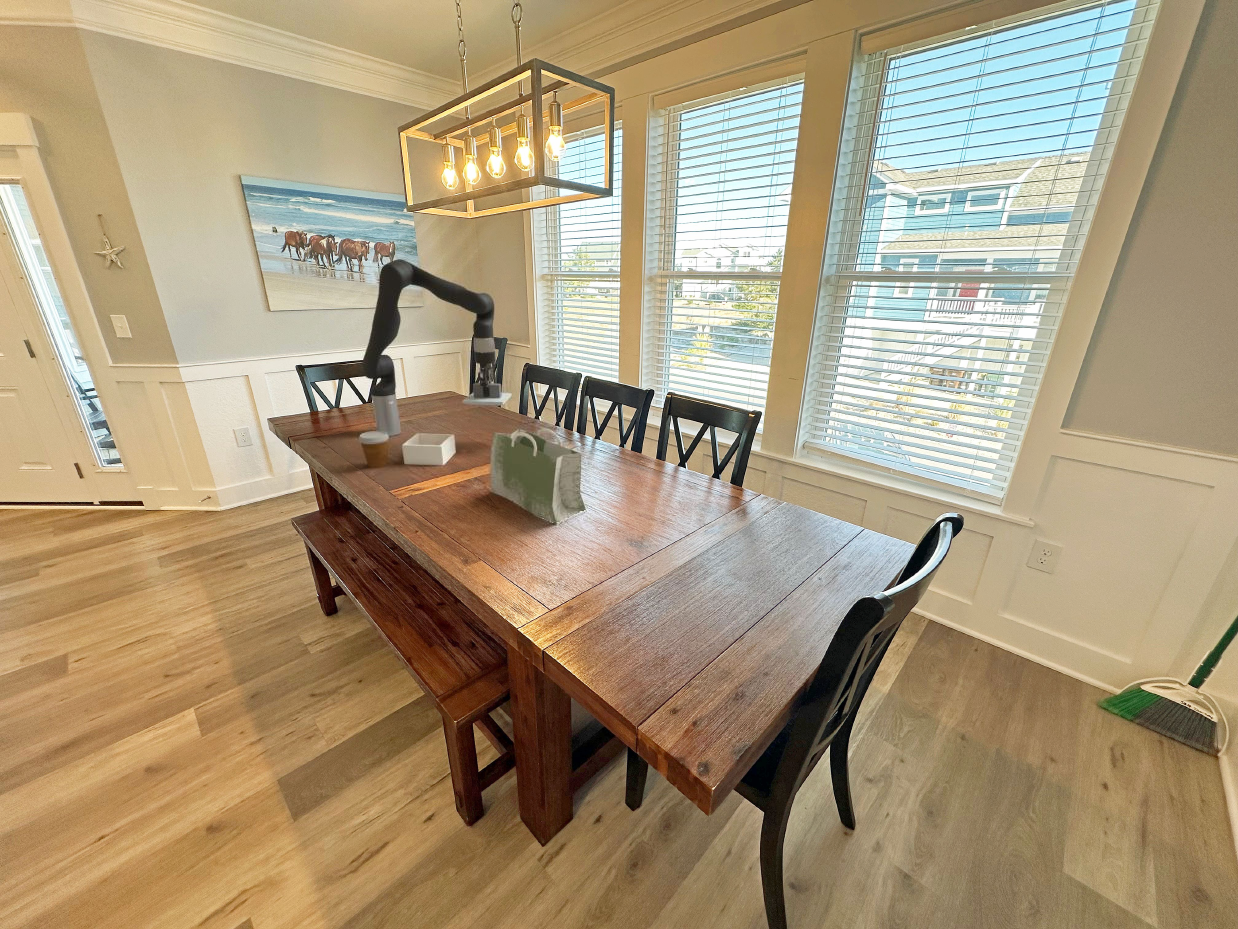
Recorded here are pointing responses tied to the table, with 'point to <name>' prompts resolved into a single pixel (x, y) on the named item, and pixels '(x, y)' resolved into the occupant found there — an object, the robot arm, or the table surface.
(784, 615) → the table surface
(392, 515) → the table surface
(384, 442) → the disposable coffee cup
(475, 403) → the box lid
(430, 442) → the storage box
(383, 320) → the robot arm
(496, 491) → the grocery bag
